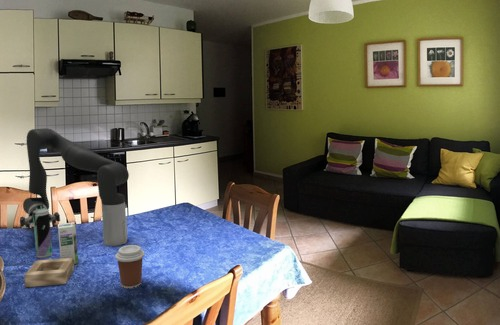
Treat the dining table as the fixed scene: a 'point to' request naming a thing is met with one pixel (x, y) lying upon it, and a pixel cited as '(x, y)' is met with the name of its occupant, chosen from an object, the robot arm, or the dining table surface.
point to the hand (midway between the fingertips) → (41, 224)
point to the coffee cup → (130, 265)
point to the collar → (49, 272)
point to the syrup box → (68, 241)
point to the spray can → (42, 232)
